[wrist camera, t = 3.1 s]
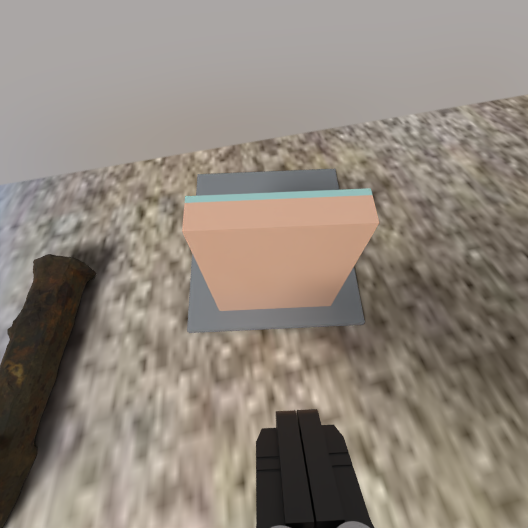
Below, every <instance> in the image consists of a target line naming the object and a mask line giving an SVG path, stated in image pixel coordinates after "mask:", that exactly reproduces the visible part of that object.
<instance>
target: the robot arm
mask: <svg viewBox="0 0 528 528" xmlns="http://www.w3.org/2000/svg"><path fill="white" fill-rule="evenodd" d="M256 506H257V525H256V528H374V526H373V524H372V522H371V520H370V517H369V515H368V511H367V508H366V505H365V502H364V499H363V496H362V493H361V490H360V487H359V483H358V480H357V477H356V474H355V471H354V468H353V466H352V462H351V459H350V455H349V454H348V449H347V446H346V443H345V440H344V437H343V436H342V434H341V433H340V432H339V431H338V430H337V428H336V427H335V426H334V425H321V422H320V418H319V414H318V411H317V409H311V410H297V415H296V411H295V410H294V411H276V428H264V429H262V430H261V432H260V434H259V437H258V439H257V441H256Z"/></svg>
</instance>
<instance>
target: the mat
mask: <svg viewBox="0 0 528 528" xmlns="http://www.w3.org/2000/svg"><path fill="white" fill-rule="evenodd" d="M322 190H339V186H338V181H337V176H336V171H335V169H318V170H294V171H269V172H245V173H221V174H198V177H197V192H196V196H203V195H227V194H250V193H274V192H298V191H322ZM364 323H365V321H364V316H363V311H362V305H361V300H360V295H359V290H358V285H357V280H356V274H355V269H354V267H353V269H352V270H351V272H350V274H349V276H348V277H347V279H346V281H345V282H344V284H343V286H342V287H341V289H340V291H339V293H338V294H337V296H336V298H335V299H334V301H333V303H332V305H331V306H320V307H298V308H276V309H254V310H232V311H219V309H218V307H217V305H216V303H215V300H214V298H213V296H212V294H211V292H210V290H209V288H208V285H207V283H206V281H205V279H204V277H203V275H202V273H201V270H200V268H199V266H198V264H197V262H196V260H195V258H194V255H193V253H192V267H191V282H190V297H189V312H188V327H187V331H188V332H189V333H196V332H217V331H239V330H260V329H282V328H303V327H325V326H346V325H363V324H364Z"/></svg>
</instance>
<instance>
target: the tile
mask: <svg viewBox="0 0 528 528" xmlns="http://www.w3.org/2000/svg"><path fill="white" fill-rule="evenodd" d="M378 224H379V219H378V215H377V211H376V207H375V203H374V199H373V195H372V191H371V188H370V189H346V190H322V191H298V192H274V193H250V194H227V195H203V196H185V206H184V217H183V229H182V232H183V234H184V236H185V238H186V240H187V243H188V245H189V247H190V249H191V251H192V253H193V255H194V258H195V260H196V262H197V264H198V266H199V268H200V270H201V273H202V275H203V277H204V279H205V281H206V283H207V285H208V288H209V290H210V292H211V294H212V296H213V298H214V300H215V303H216V305H217V307H218V309H219V311H232V310H254V309H276V308H298V307H320V306H331V305H332V303H333V301H334V299H335V298H336V296H337V294H338V293H339V291H340V289H341V287H342V286H343V284H344V282H345V281H346V279H347V277H348V276H349V274H350V272H351V270H352V269H353V267H354V265H355V264H356V262H357V260H358V259H359V257H360V255H361V253H362V252H363V250H364V248H365V247H366V245H367V243H368V241H369V240H370V238H371V236H372V235H373V233H374V231H375V230H376V228H377V226H378Z"/></svg>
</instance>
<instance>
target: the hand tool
mask: <svg viewBox="0 0 528 528" xmlns="http://www.w3.org/2000/svg"><path fill="white" fill-rule="evenodd" d="M33 264H34V266H33V273H34V279H33V283H32V286H31V288H30V290H29V293H28V295H27V298H26V302H25V304H24V306H23V309H22V310H21V313H20V314H19V315H18V316H17V318H16V319H15V320H14V321H13V324H12V327H10V328H9V329H8V335H9V338H10V341H9V344H8V345H7V348H6V352H5V354H4V357H3V359H2V362H1V365H0V528H2V527H3V525H4V523H5V521H6V520H7V518H8V516H9V514H10V512H11V511H12V509H13V507H14V505H15V503H16V500H17V498H18V496H19V495H20V490H21V487H22V485H23V483H24V481H25V479H26V477H27V475H28V473H29V471H30V469H31V467H32V464H33V462H34V460H35V458H36V455H37V447H36V446H35V445H34V439H35V436H36V433H37V429H38V425H39V422H40V420H41V417H42V414H43V412H44V409H45V406H46V403H47V400H48V397H49V395H50V392H51V390H52V388H53V385H54V383H55V380H56V377H57V372H58V367H59V364H60V361H61V358H62V355H63V352H64V349H65V346H66V343H67V341H68V339H69V336H70V333H71V330H72V328H73V325H74V322H75V315H76V312H77V310H78V307H79V303H80V299H81V296H82V293H83V290H84V287H85V285H86V283H87V282H88V281H89V280H92V279H94V278H95V276H96V272H95V271H94V270H92V269H91V268H90V267H89V266H88V265H87V264H85V263H84V262H82V261H80V260H78V259H75V258H71V257H64V256H55V255H51V254H48V255H45V256H43V257H41V258H38V259H36V260H34V262H33Z"/></svg>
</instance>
